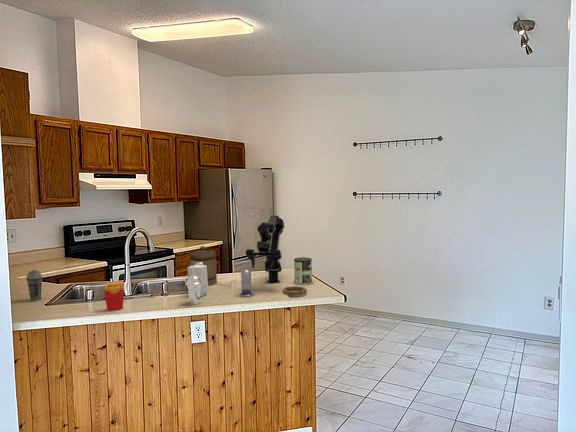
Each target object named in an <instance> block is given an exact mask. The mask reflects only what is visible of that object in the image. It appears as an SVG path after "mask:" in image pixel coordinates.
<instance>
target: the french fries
mask: <svg viewBox="0 0 576 432" xmlns="http://www.w3.org/2000/svg"><path fill="white" fill-rule="evenodd" d="M125 285H126V284H125V282H124V281H120V280H119V281H114V282H107V283H104V284H103V286H104V298H105V305H106V309H107V310H108V311H107V312H113V311H112V310H116V311H121V310H120V309H122V310H124V295H125V294H124V293H125Z"/></svg>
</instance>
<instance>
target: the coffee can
mask: <svg viewBox="0 0 576 432" xmlns="http://www.w3.org/2000/svg"><path fill="white" fill-rule="evenodd" d="M293 261H294V262H293V263H294V264H293V265H294V268H293V269H294V270H293V271H294V273H293V274H294V284H296V285H301V286H303V285H307V286H308V285H311V284H312V283H313V277H312V276H313V275H312V271H313V269H312V268H313V267H312V263H313V262H312V258H310V257H303V256H302V257H296V258H294V259H293Z"/></svg>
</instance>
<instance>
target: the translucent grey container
mask: <svg viewBox="0 0 576 432" xmlns="http://www.w3.org/2000/svg"><path fill="white" fill-rule="evenodd" d="M206 248H207V247H206V246H203V245H201V246H200V247H199V250H198V251H194V252H190V254H189V257H190V258H189V259H190V266H193V265H195V264H198V263H201V262H204V263H203V264H199V265H207V278H208V287H209V286H213V285H216V284H217V283H218V278H217V277H218V274H217V260H216V254H217V253H216V251H214V250H213V251H212V250H206Z"/></svg>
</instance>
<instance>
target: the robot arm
mask: <svg viewBox="0 0 576 432" xmlns="http://www.w3.org/2000/svg"><path fill="white" fill-rule="evenodd" d="M284 229H285V222H284V219H282V218H281V217H280V216H279V215H271V216H269V219H268V220H267V221H264V222H261V224H259V225H258V226H257V232H258V235H259V238H260V241H257V242H256V248H257V251H255V249H246V250H245V255H246V258H247V259H249V260H250V261H251V266H252V269H254V268H255V264H256V256H260V257H261V256H262V257H266V258H265V262H264V270H265V273H268V279H267V282H268V283H269V284H274V283H280V282H281V281H280V279H279V273H280V272H282V265H281V261H280V260H282V251H281V250H280V249H279V246H280V237H281V234H282V233H283V232H284Z"/></svg>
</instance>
